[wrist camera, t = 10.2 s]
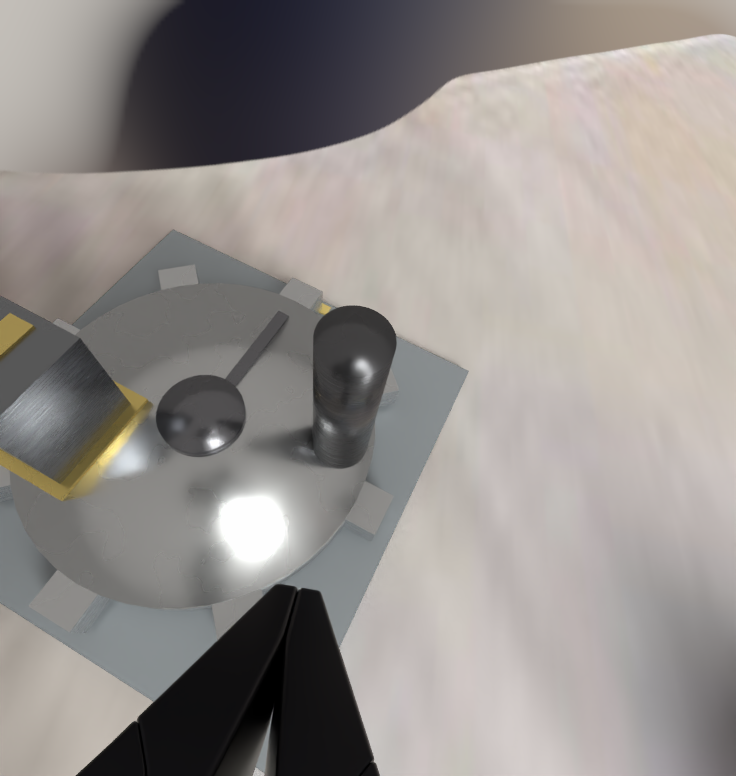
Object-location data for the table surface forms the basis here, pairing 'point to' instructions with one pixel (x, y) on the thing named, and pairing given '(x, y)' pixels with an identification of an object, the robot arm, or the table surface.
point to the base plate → (325, 573)
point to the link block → (51, 394)
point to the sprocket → (213, 451)
